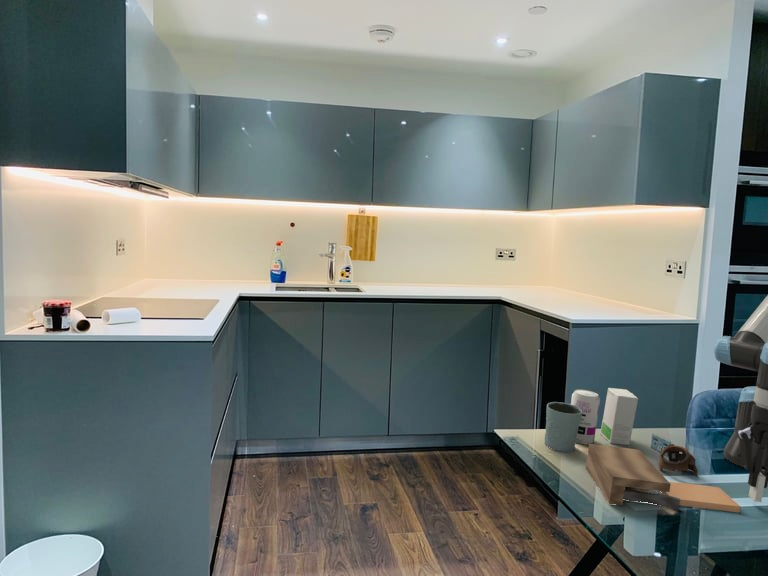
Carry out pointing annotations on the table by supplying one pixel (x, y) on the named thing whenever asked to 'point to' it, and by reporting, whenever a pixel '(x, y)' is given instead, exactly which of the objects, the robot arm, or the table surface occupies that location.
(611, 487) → the walnut shelf
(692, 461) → the broken clay pot
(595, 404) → the supplement can
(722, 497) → the terracotta panel
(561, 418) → the grey cylindrical pot
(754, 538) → the table surface
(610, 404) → the skincare box
